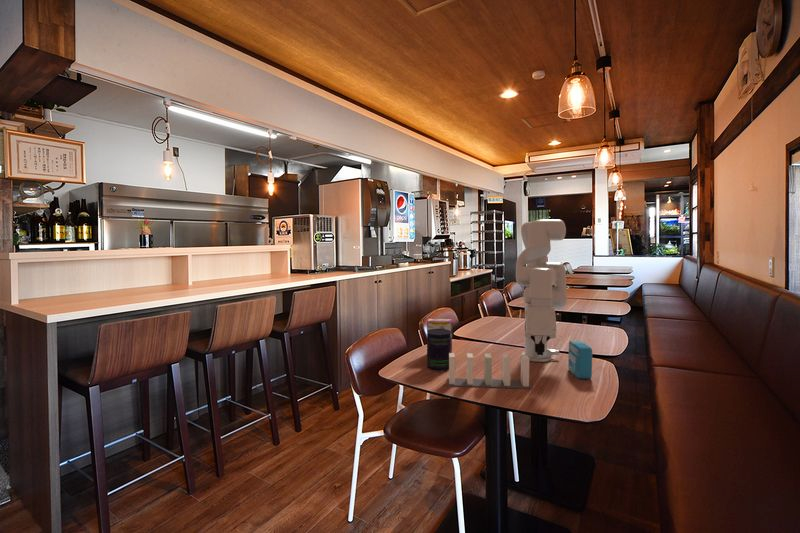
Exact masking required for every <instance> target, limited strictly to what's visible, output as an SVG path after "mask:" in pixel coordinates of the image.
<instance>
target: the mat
mask: <svg viewBox="0 0 800 533" xmlns="http://www.w3.org/2000/svg"><path fill="white" fill-rule="evenodd" d="M446 386H447V387H457V386H458V387H459V388H460V387H462V388H463V387H465V388H495V389H521V390H522V389H523V390H524V389H527V390H528V389H529V390H532V389H533V387H532V385H531V383H530V382H529V386H523V385H522V383H521V379H520V380H519V379H510V386H504V383H503V381H502V379H496V378H495V379H493V378H492V383H491V385H486V384H485V381H484V378H473V385H467V378H457V377H455V384H449V377H447V378H446Z"/></svg>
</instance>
